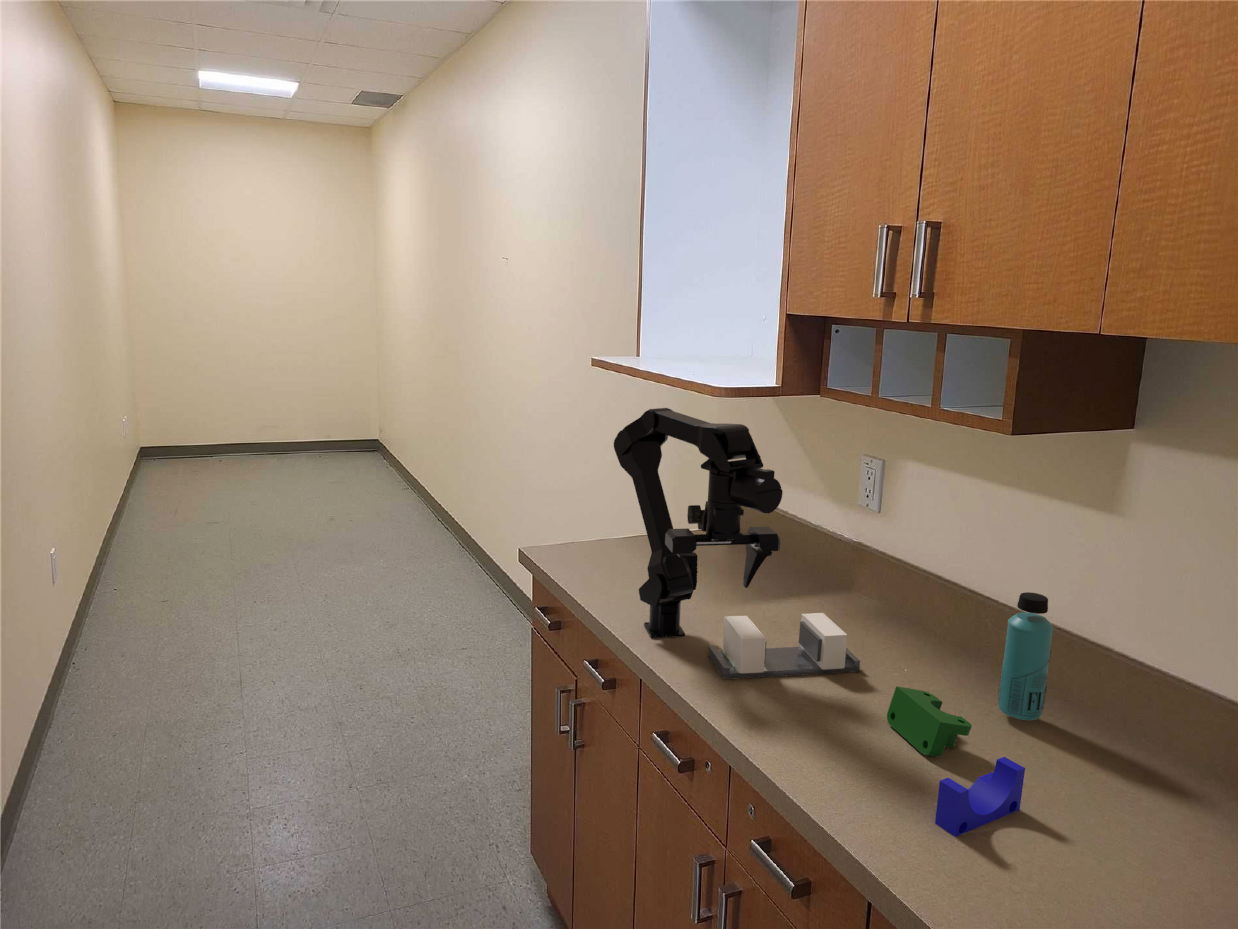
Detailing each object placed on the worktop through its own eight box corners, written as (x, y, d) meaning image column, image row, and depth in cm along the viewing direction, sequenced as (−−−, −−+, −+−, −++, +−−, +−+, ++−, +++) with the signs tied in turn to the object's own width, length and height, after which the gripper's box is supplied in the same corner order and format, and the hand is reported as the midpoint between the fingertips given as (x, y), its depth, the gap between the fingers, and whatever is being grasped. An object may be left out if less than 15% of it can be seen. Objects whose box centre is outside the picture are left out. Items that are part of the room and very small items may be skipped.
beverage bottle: (1025, 734, 130) (1042, 606, 126) (985, 715, 136) (1001, 592, 132) (1051, 723, 134) (1068, 599, 130) (1011, 705, 139) (1027, 585, 135)
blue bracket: (989, 793, 115) (994, 751, 114) (1019, 811, 111) (1025, 768, 110) (925, 818, 109) (929, 774, 108) (954, 838, 105) (960, 793, 104)
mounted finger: (796, 645, 157) (798, 614, 156) (820, 644, 158) (822, 612, 157) (818, 669, 148) (821, 636, 147) (844, 668, 149) (847, 635, 147)
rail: (708, 656, 154) (708, 646, 154) (836, 650, 159) (837, 639, 158) (723, 679, 145) (724, 668, 145) (859, 671, 150) (860, 660, 149)
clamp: (947, 778, 126) (981, 738, 122) (912, 774, 124) (946, 732, 120) (913, 712, 136) (944, 672, 131) (880, 706, 134) (911, 666, 130)
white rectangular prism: (740, 673, 145) (742, 639, 144) (722, 648, 155) (724, 616, 154) (766, 672, 146) (768, 638, 145) (747, 647, 156) (749, 615, 154)
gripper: (761, 487, 157) (755, 571, 160) (659, 488, 153) (655, 574, 156) (784, 503, 146) (778, 592, 149) (675, 505, 143) (671, 596, 146)
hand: (719, 588), depth 151 cm, fingers open, 9 cm apart
